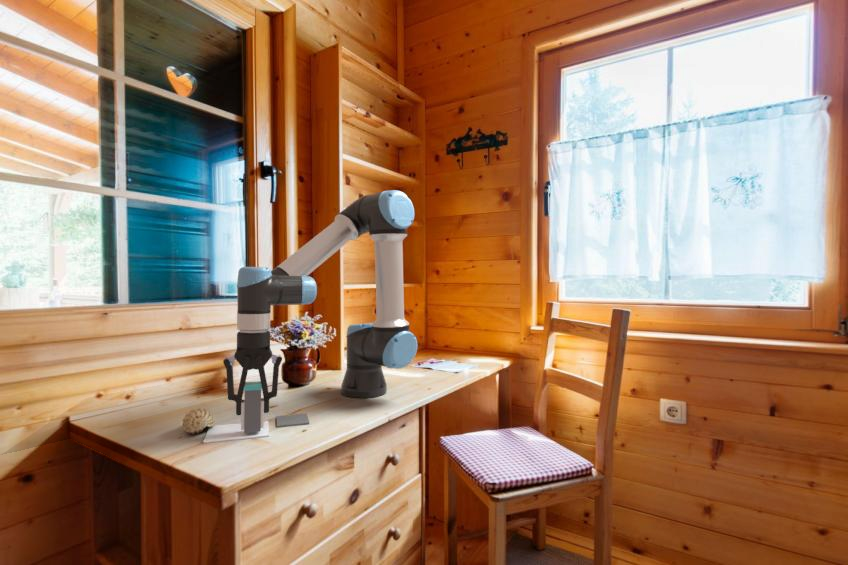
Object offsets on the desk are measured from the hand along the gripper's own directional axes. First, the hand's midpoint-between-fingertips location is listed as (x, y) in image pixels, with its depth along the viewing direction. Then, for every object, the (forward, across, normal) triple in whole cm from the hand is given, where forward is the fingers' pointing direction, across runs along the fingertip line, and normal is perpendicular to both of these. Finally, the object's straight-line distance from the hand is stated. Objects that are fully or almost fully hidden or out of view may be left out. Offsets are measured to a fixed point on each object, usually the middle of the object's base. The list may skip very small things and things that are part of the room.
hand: (252, 426), depth 105 cm
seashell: (+2, +13, -7) cm, 14 cm away
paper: (+2, +3, -3) cm, 5 cm away
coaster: (+2, -10, -7) cm, 12 cm away
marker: (+1, 0, 0) cm, 1 cm away
